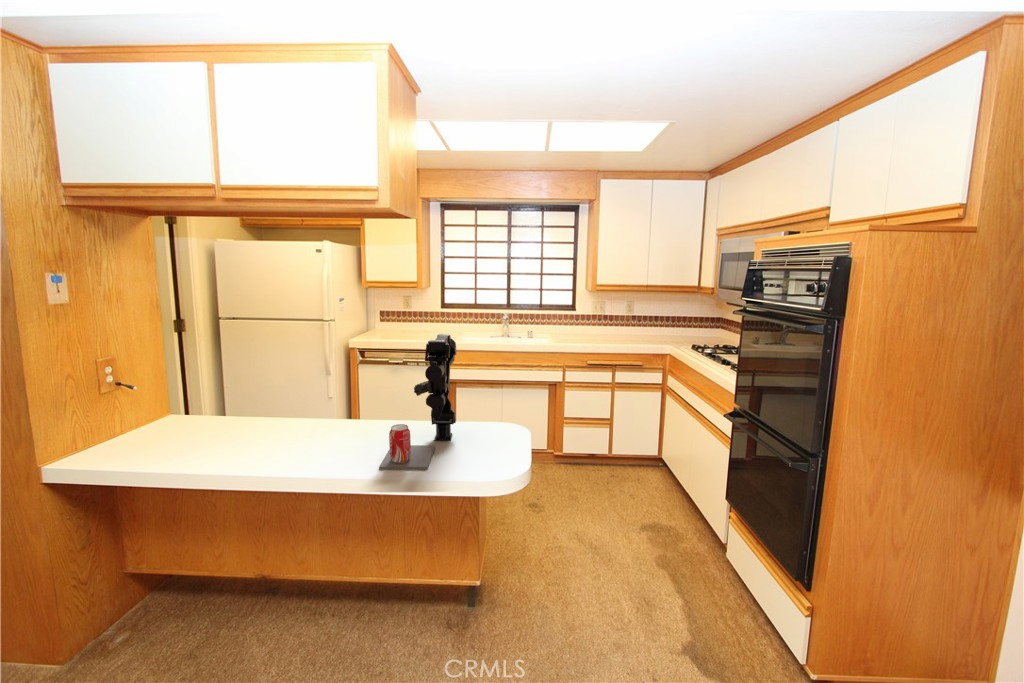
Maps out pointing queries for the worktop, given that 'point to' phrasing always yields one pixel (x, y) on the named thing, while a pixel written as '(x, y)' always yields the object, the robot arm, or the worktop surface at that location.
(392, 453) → the soda can
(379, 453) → the worktop surface
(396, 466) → the charcoal mat
